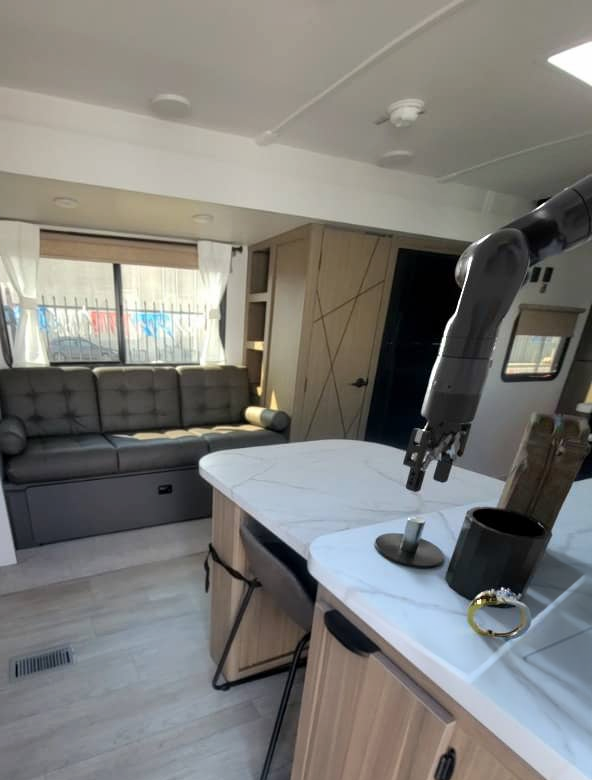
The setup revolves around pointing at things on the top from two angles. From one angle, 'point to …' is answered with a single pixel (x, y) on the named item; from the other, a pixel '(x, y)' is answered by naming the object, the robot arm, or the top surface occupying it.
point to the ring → (502, 597)
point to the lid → (410, 547)
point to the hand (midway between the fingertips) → (426, 485)
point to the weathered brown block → (546, 465)
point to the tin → (496, 553)
